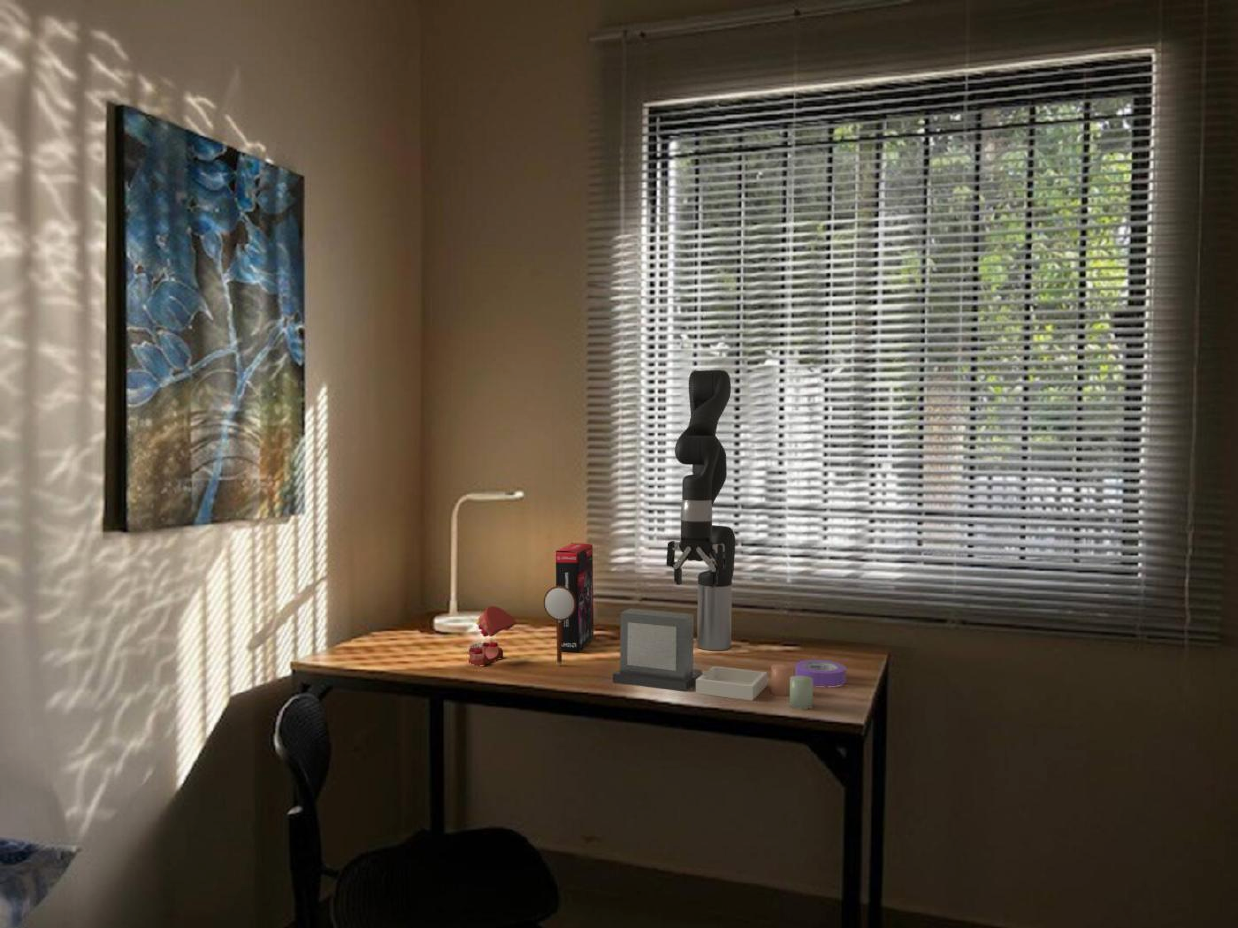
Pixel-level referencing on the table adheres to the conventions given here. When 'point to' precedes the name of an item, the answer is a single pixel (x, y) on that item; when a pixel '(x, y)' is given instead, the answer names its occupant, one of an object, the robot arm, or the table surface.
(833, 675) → the masking tape
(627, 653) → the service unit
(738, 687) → the tray
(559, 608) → the magnifying glass
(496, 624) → the anatomical model
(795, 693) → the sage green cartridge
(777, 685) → the cylinder
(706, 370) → the robot arm
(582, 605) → the graphics card box
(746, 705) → the table surface
